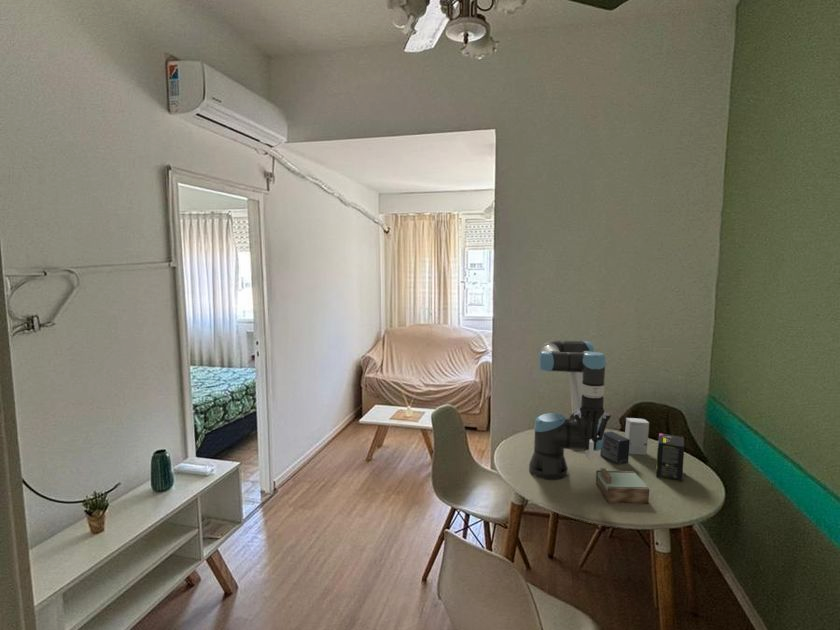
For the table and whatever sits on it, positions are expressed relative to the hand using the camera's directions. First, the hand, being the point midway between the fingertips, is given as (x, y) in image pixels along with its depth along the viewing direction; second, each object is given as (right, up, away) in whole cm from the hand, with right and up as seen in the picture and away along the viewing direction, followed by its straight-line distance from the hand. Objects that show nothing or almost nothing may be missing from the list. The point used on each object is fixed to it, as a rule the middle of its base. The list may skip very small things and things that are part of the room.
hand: (589, 457), depth 175 cm
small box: (+22, -10, +31) cm, 39 cm away
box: (+12, -14, +1) cm, 18 cm away
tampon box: (+38, -12, +17) cm, 43 cm away
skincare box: (+34, -9, +38) cm, 52 cm away
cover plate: (+12, -10, +1) cm, 15 cm away
